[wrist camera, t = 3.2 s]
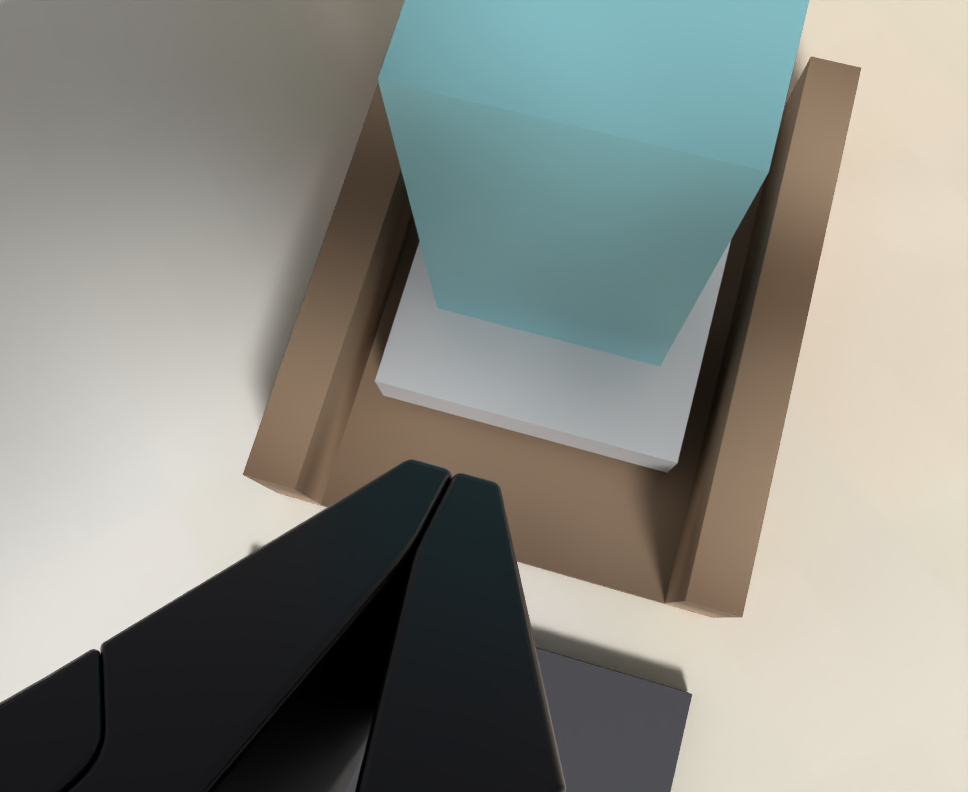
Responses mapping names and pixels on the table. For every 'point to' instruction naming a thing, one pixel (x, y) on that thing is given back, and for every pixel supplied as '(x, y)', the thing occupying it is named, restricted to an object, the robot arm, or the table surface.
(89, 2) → the table surface
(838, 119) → the track
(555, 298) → the blue pillar on plinth
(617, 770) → the dark gray rectangular plate
